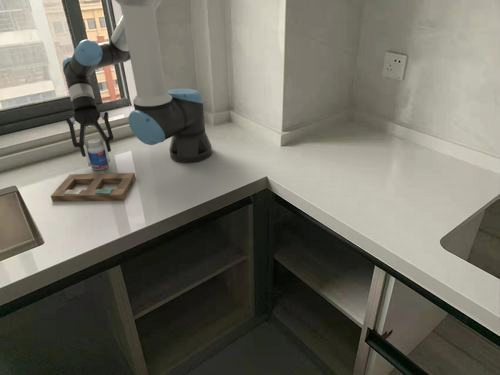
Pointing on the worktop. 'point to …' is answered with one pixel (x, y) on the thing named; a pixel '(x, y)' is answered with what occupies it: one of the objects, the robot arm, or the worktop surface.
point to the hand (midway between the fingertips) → (99, 162)
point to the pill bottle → (97, 154)
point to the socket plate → (94, 187)
